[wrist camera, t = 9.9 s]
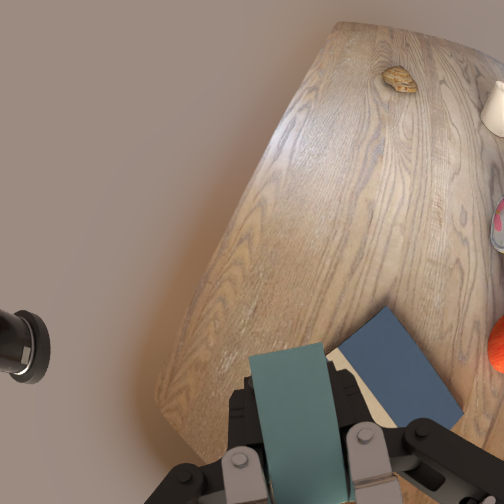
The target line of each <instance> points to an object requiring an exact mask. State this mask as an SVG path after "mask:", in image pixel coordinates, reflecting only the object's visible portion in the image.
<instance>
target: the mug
mask: <svg viewBox="0 0 504 504" xmlns="http://www.w3.org/2000/svg"><path fill="white" fill-rule="evenodd" d="M480 118H481V120H482V122H483V124H484V125H485V126H486V127H487V128H488V129H489V130H490V131H491V132H492V133H494V134H495V135H497V136H499V137H502V138H504V82H503V81H496V82H495V84H494V86H493V88H492V91H491V93H490V95H489V97H488V99H487V102H486V104H485V106H484V108H483V110H482V112H481V114H480Z"/></svg>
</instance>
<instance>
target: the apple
mask: <svg viewBox="0 0 504 504" xmlns="http://www.w3.org/2000/svg"><path fill="white" fill-rule="evenodd" d="M488 357H489V361H490V363H491V364H492V366H493V367H494V368H495V369H496V370H497V371H499V372H502V373H504V315H503V316H502V317H501V318H500V319H499V321H498V322H497V323H496V324H495V326H494V328H493V329H492V332H491V334H490V337H489V340H488Z"/></svg>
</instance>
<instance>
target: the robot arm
mask: <svg viewBox="0 0 504 504" xmlns="http://www.w3.org/2000/svg"><path fill="white" fill-rule="evenodd" d="M35 354H36V338H35V333H34V330H33V327H32V325H31V324H30V322H29V321H28V320H27V319H25V318H23V317H20V316H16V315H13V314H11V313H8V312H5V311H4V310H1V309H0V371H1V372H6V373H14V374H18V375H24V374H26V373H27V372H28V371H29V370H30V369H31V367H32V365H33V363H34V359H35ZM326 363H327V368H328V373H329V379H330V384H331V389H332V394H333V400H334V405H335V411H336V416H337V422H338V428H339V434H340V440H341V447H342V453H343V460H344V467H345V474H346V481H347V489H348V497H349V500H348V501H347V502H346V504H403V500H402V494H401V489H400V484H399V480H398V478H397V476H396V475H394V474H393V472H396V473H397V474H399V475H400V476H401V477H403V478H404V479H405V480H407V481H408V482H410V483H411V484H412V485H414V486H415V487H417V488H418V489H419V490H421V491H422V492H424V493H425V494H427V495H428V496H430V497H431V498H432V499H434V500H435V501H437V502H438V503H440V504H504V461H502V460H501V459H499V458H497V457H495V456H493V455H491V454H490V453H488V452H486V451H484V450H483V449H481V448H479V447H477V446H476V445H474V444H472V443H470V442H469V441H467V440H465V439H463V438H462V437H460V436H458V435H457V434H455V433H453V432H452V431H450V430H448V429H447V428H445V427H443V426H442V425H440V424H438V423H437V422H435V421H433V420H431V419H429V418H418V419H415V420H413V421H411V422H410V423H409V424H408V425H407V427H398V428H386V427H382V426H380V425H378V424H377V423H376V422H375V421H374V420H373V418H372V416H371V414H370V411H369V409H368V406H367V404H366V402H365V399H364V397H363V395H362V393H361V390H360V388H359V386H358V383H357V381H356V379H355V376H354V375H353V374H352V373H351V372H350V371H348V370H347V369H342V370H338V371H337V370H336V368H335V365H334V363H333V361H332V360H331V361H327V362H326ZM248 380H249V377H245V378H244V389H240V390H234V392H233V394H232V396H231V398H230V399H229V427H228V448H227V451H226V453H225V454H224V456H223V457H222V458H221V459H219V460H218V461H216V462H214V463H211V464H208V465H205V466H202V467H197V466H196V465H194V464H189V463H183V464H179V465H177V466H175V467H174V468H172V470H171V471H170V472H169V473H168V475H167V476H166V477H165V478H164V480H163V481H162V482H161V483H160V485H159V486H158V487H157V488H156V490H155V491H154V492H153V493H152V494H151V496H150V497H149V498H148V499H147V501H146V502H145V503H144V504H275V499H274V495H273V491H272V487H271V483H270V473H269V468H268V463H267V458H266V452H265V447H264V442H263V436H262V431H261V425H260V420H259V414H258V409H257V403H256V398H255V392H254V389H252V388H251V387H250V386H249V383H248Z"/></svg>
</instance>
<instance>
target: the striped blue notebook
mask: <svg viewBox="0 0 504 504" xmlns="http://www.w3.org/2000/svg"><path fill="white" fill-rule="evenodd" d="M325 358H326V362H327V361H331V360H332V361H333V363H334V365H335V368H336V370H337V371H338V370H342V369H347V370H348V371H350V372H351V373H352V374H353V375H354V376H355V379H356V381H357V383H358V386H359V388H360V390H361V393H362V395H363V397H364V399H365V402H366V404H367V406H368V409H369V411H370V414H371V416H372V418H373V420H374V421H375V422H376V423H377V424H378V425H380V426H382V427H386V428H398V427H407V425H408V424H409V423H410V422H411V421H413V420H415V419H418V418H429V419H431V420H433V421H435V422H437V423H438V424H440V425H442V426H443V427H445V428H447V429H448V430H450V429H451V428H452V427H453V426H454V425H455V424H456V423H457V421H458V420H459V419H460V418H461V417H462V416H463V415H464V413H463V411H462V410H461V408H460V407H459V405H458V404H457V402H456V400H455V399H454V397H453V396H452V394H451V393H450V391H449V390H448V388H447V387H446V385H445V384H444V382H443V381H442V379H441V378H440V377H439V375H438V374H437V372H436V371H435V369H434V368H433V366H432V365H431V364H430V362H429V361H428V359H427V358H426V357H425V355H424V354H423V352H422V351H421V350H420V348H419V347H418V346H417V344H416V343H415V342H414V340H413V339H412V338H411V336H410V335H409V334H408V332H407V331H406V330H405V328H404V327H403V326H402V324H401V323H400V322H399V320H398V319H397V318H396V316H395V315H394V314H393V313H392V311H391V310H390V309H389V308H388V306H385V307H384V308H383V309H382V310H381V311H380V312H378V313H377V314H376V315H375V316H374V317H373V318H372V319H370V320H369V321H368V322H367V323H366V324H365V325H363V326H362V327H361V328H360V329H359V330H357V331H356V332H355V333H354V334H353V335H351V336H350V337H349V338H348V339H347V340H345V341H344V342H343V343H342V344H340V345H339V346H338V347H336V348H335V349H334V350H333V351H331V352H330V353H329V354H327V355H326V356H325Z"/></svg>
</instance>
